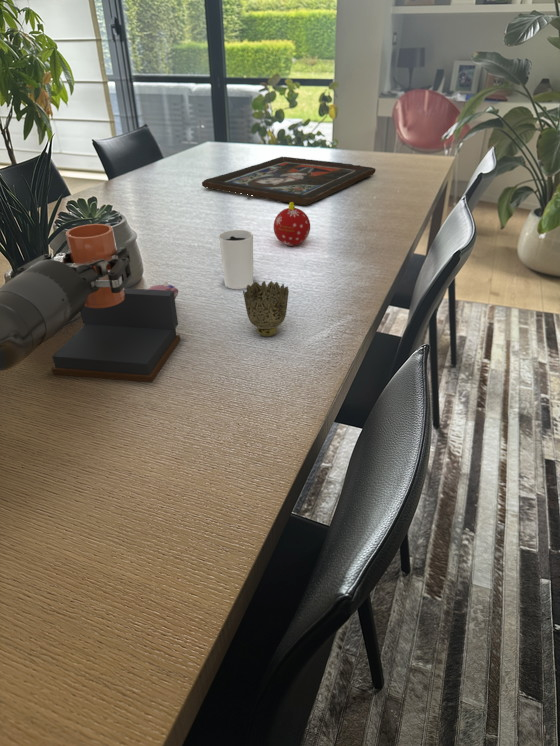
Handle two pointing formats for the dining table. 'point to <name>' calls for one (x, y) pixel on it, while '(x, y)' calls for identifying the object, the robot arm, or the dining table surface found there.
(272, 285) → the cup
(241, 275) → the white cylindrical container
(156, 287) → the video game controller
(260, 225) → the dining table surface
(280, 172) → the religious icon
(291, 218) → the christmas ornament
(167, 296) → the sofa
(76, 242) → the cup
